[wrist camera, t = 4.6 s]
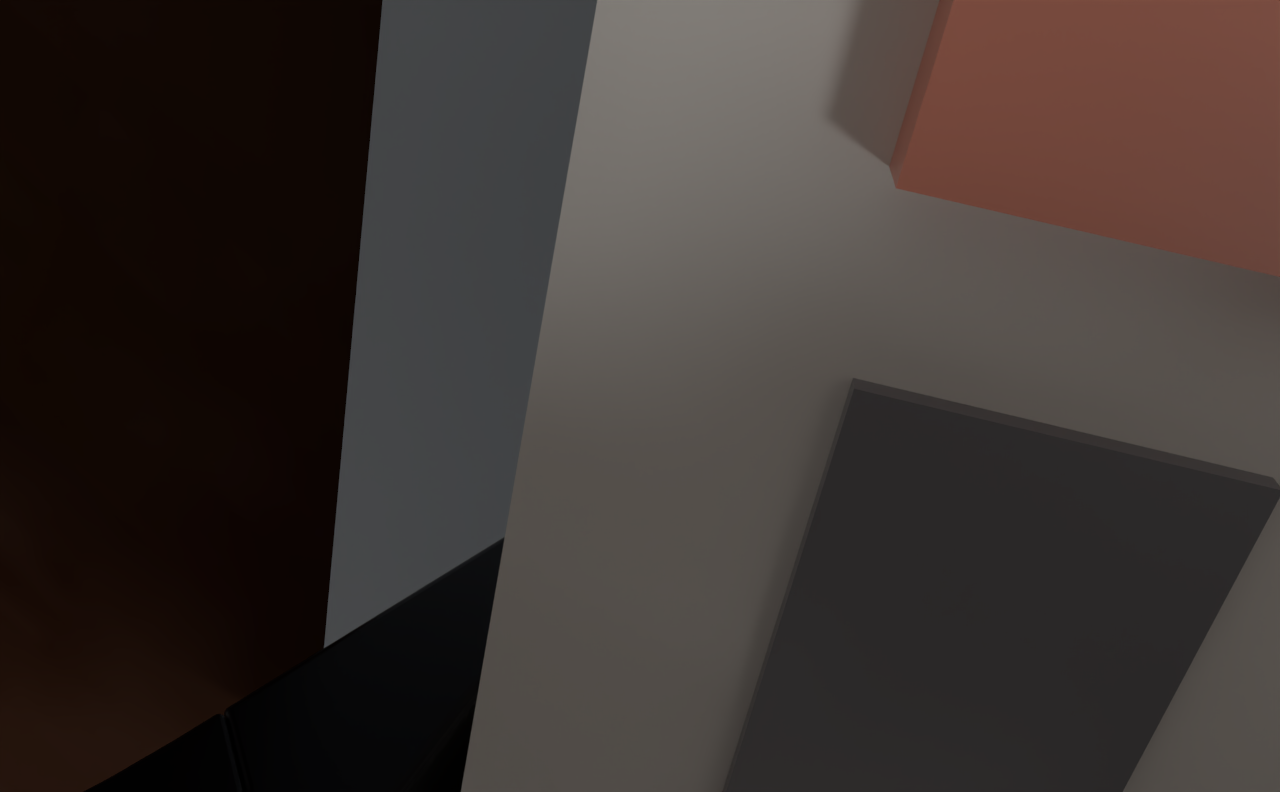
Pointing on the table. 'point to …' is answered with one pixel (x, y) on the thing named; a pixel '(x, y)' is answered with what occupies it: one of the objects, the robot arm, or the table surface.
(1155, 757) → the power strip
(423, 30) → the keyhole board
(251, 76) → the table surface
